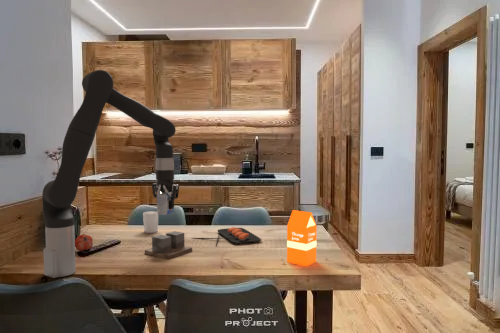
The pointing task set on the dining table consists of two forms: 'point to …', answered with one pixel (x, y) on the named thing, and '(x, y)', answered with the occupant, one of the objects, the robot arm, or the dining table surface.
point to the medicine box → (163, 204)
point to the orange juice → (301, 238)
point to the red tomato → (83, 242)
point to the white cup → (150, 221)
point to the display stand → (168, 245)
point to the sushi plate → (236, 235)
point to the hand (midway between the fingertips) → (165, 208)
